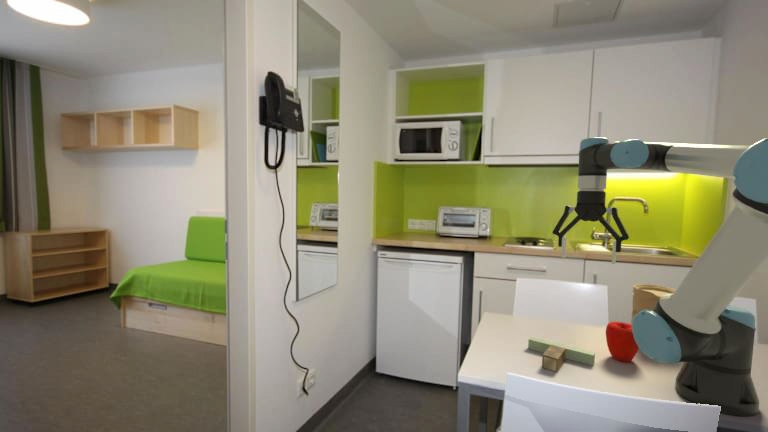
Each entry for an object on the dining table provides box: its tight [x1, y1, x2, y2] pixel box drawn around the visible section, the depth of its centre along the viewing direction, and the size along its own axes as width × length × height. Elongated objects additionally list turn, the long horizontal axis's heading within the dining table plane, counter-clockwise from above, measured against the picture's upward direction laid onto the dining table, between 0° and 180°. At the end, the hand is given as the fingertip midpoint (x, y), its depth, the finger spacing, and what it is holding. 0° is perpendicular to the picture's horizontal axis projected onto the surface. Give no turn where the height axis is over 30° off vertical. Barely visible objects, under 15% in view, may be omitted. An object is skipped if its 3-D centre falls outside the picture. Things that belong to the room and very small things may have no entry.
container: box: [630, 283, 677, 325], centre depth 124 cm, size 13×13×18 cm
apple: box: [605, 321, 640, 363], centre depth 111 cm, size 9×9×11 cm
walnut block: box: [541, 345, 566, 373], centre depth 107 cm, size 4×4×9 cm
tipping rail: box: [527, 336, 596, 366], centre depth 112 cm, size 18×2×3 cm, turn 53°
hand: (587, 260), depth 113 cm, fingers open, 13 cm apart
